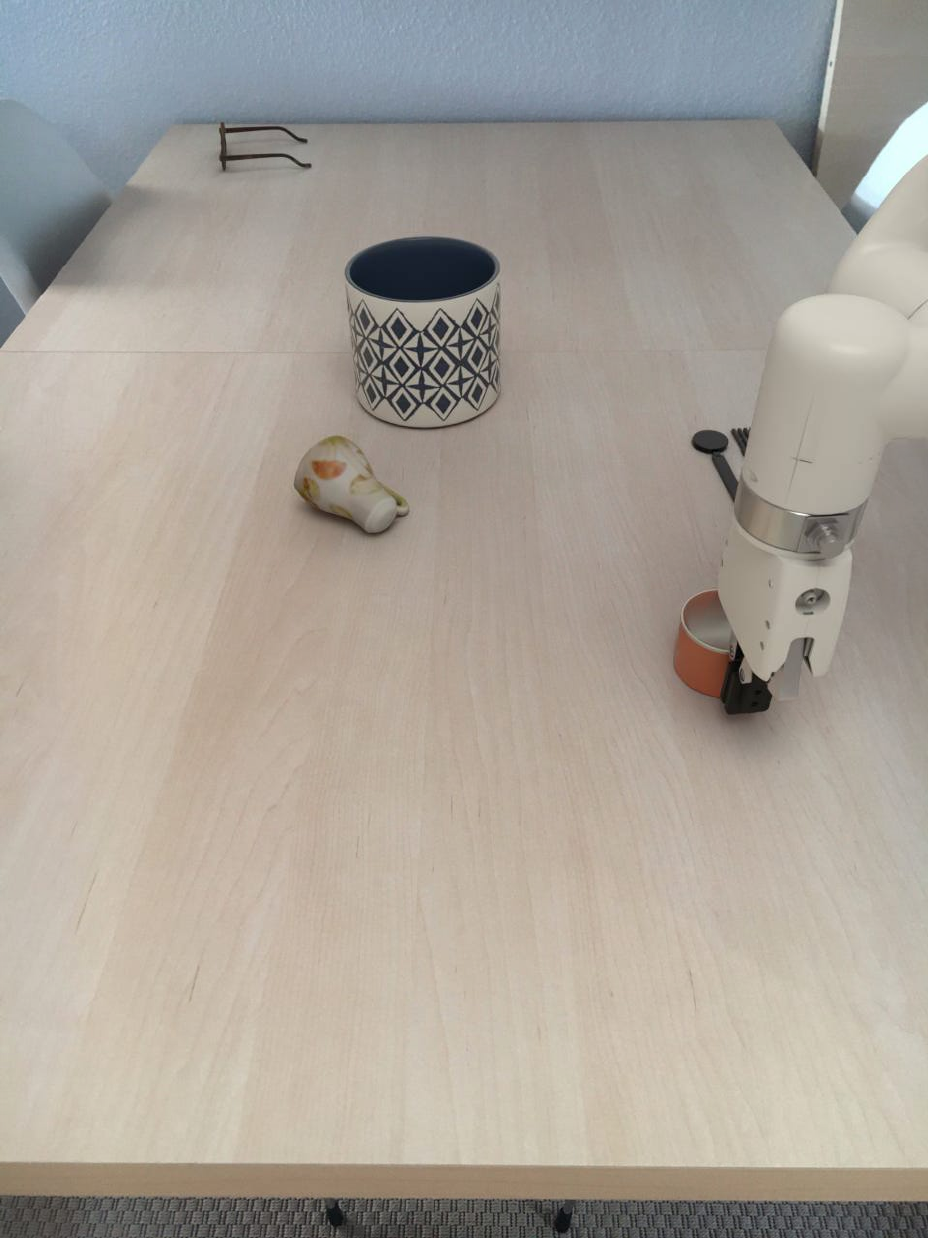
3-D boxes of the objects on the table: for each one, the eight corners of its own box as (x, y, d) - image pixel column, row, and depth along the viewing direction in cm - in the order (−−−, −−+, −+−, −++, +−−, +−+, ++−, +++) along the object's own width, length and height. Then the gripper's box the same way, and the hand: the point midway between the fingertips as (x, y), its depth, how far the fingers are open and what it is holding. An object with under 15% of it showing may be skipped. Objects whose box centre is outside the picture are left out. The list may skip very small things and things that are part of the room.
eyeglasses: (221, 147, 172) (216, 116, 168) (307, 140, 173) (303, 109, 170) (222, 176, 161) (216, 144, 158) (313, 168, 163) (309, 136, 159)
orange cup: (780, 662, 79) (793, 615, 75) (734, 712, 75) (746, 666, 71) (703, 622, 82) (712, 576, 79) (655, 669, 78) (662, 623, 75)
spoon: (770, 523, 92) (771, 518, 91) (732, 526, 91) (733, 521, 91) (721, 433, 103) (722, 428, 102) (687, 435, 103) (688, 430, 102)
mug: (371, 559, 89) (309, 469, 85) (327, 547, 97) (269, 465, 93) (430, 508, 92) (372, 418, 87) (382, 501, 100) (328, 418, 95)
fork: (805, 520, 92) (806, 516, 92) (780, 522, 92) (781, 519, 91) (752, 429, 103) (753, 426, 103) (730, 431, 103) (730, 428, 103)
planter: (404, 448, 102) (394, 317, 92) (331, 384, 112) (316, 259, 102) (528, 401, 108) (532, 274, 98) (449, 344, 118) (445, 223, 108)
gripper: (911, 577, 55) (831, 781, 68) (812, 433, 66) (759, 631, 79) (781, 588, 55) (724, 791, 67) (703, 441, 66) (666, 639, 78)
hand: (743, 705), depth 73 cm, fingers closed
